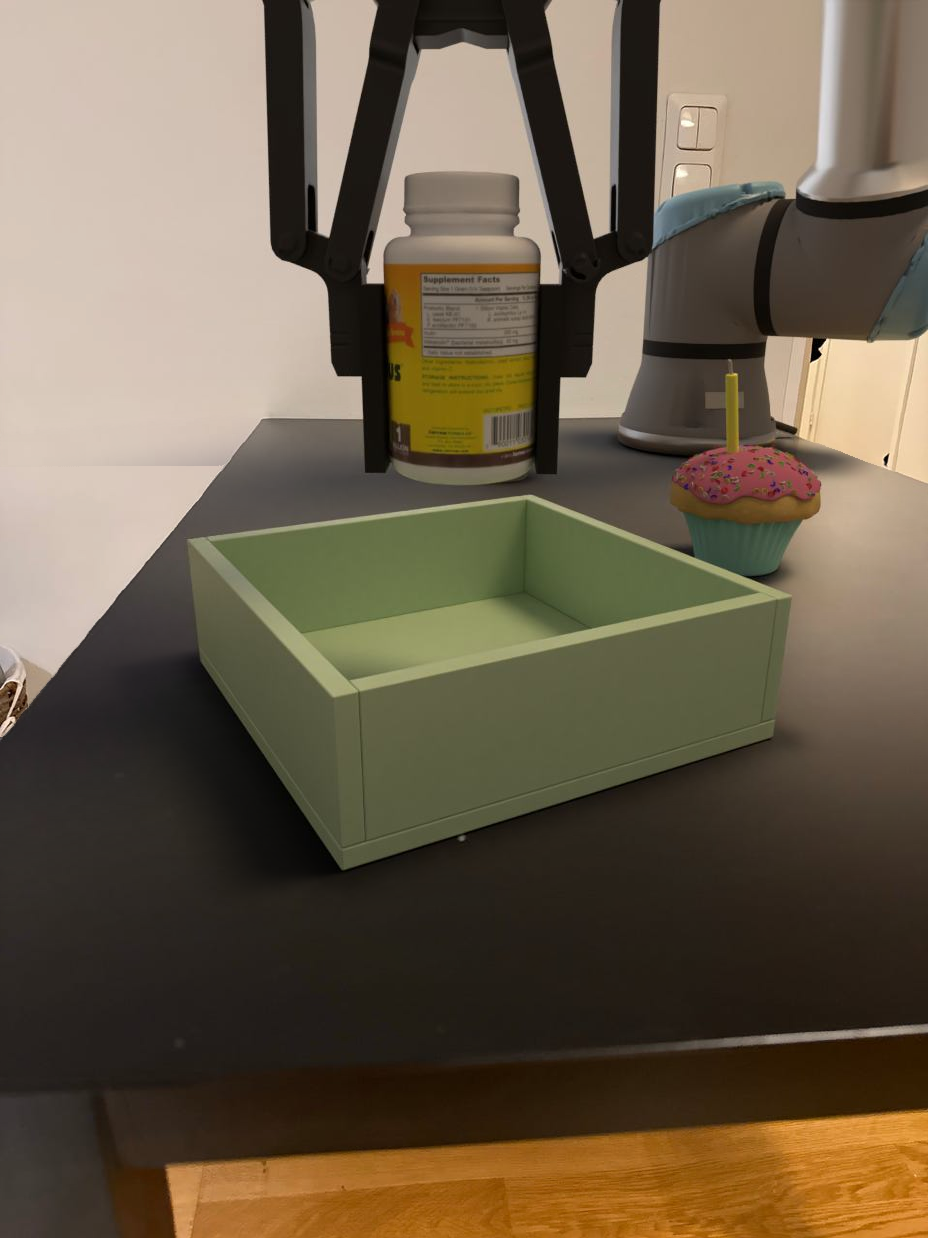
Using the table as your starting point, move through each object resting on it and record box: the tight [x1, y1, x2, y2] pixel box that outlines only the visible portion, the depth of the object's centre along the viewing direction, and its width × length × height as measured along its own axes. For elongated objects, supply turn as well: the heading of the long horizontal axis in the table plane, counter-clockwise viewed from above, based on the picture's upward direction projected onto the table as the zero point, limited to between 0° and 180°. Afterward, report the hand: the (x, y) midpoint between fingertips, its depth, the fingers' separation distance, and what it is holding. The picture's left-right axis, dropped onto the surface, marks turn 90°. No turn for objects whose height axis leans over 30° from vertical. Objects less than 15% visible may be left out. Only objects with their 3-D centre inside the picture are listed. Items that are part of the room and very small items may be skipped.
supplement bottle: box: [382, 170, 542, 486], centre depth 33 cm, size 6×6×10 cm
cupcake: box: [669, 359, 822, 577], centre depth 53 cm, size 9×8×12 cm
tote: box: [186, 494, 793, 871], centre depth 38 cm, size 18×18×6 cm
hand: (461, 464), depth 35 cm, fingers closed on supplement bottle, 6 cm apart
